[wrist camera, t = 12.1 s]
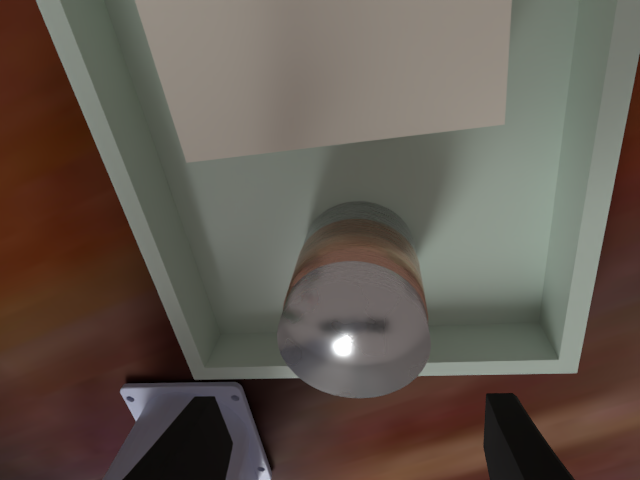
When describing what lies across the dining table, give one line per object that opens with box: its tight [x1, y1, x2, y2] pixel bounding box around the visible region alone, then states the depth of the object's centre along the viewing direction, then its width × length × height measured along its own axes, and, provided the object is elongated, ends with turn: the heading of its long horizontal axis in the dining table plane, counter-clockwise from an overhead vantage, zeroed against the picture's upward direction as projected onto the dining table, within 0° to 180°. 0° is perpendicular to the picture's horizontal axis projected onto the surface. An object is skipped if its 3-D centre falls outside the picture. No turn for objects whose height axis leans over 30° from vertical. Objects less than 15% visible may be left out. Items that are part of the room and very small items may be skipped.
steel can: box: [277, 201, 431, 398], centre depth 16 cm, size 5×5×6 cm
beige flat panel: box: [135, 0, 512, 163], centre depth 13 cm, size 6×10×4 cm, turn 99°
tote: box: [36, 0, 640, 380], centre depth 16 cm, size 20×18×3 cm
